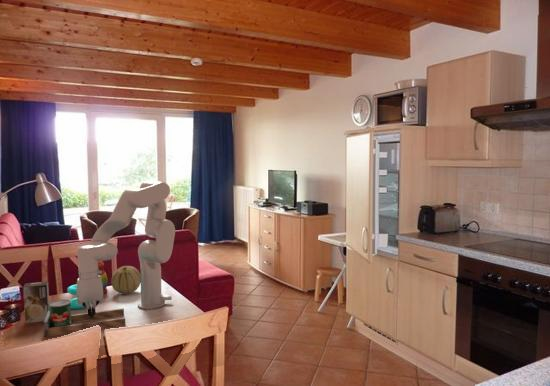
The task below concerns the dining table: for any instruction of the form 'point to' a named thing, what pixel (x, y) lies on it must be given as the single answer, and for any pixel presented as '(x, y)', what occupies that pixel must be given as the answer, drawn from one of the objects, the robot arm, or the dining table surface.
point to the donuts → (73, 291)
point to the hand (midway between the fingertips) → (91, 316)
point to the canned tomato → (60, 313)
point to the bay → (85, 317)
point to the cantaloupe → (126, 280)
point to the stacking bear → (103, 276)
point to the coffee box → (36, 301)
